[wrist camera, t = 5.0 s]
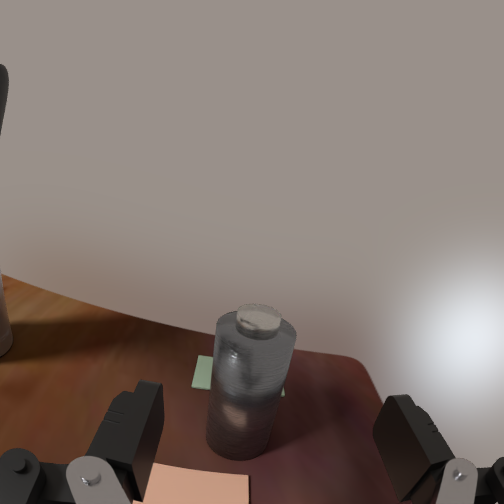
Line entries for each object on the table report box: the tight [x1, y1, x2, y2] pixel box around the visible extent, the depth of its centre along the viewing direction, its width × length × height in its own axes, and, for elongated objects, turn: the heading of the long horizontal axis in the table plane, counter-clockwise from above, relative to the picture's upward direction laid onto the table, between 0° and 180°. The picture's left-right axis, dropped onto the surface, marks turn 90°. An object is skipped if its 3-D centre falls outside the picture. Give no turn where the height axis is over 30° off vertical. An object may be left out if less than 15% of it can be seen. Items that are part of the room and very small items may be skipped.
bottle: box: [206, 304, 296, 461], centre depth 23 cm, size 6×6×13 cm
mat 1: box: [133, 463, 249, 504], centre depth 17 cm, size 10×6×1 cm, turn 91°
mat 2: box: [192, 355, 285, 397], centre depth 34 cm, size 10×6×1 cm, turn 90°
